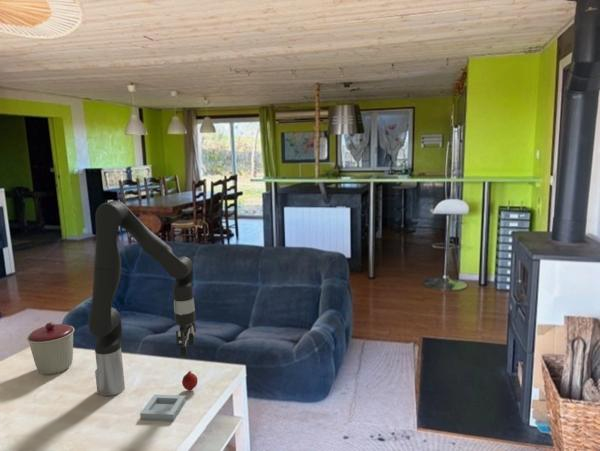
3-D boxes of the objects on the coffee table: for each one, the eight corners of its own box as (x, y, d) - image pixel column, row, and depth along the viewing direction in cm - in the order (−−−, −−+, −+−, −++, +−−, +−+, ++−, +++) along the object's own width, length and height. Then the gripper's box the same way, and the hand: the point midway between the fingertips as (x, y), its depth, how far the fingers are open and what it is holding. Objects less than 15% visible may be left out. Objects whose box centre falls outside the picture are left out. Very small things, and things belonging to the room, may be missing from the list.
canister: (33, 364, 201) (27, 319, 197) (78, 355, 208) (73, 312, 204) (29, 383, 185) (22, 334, 181) (78, 373, 192) (72, 326, 188)
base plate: (140, 419, 159) (140, 413, 158) (154, 400, 170) (154, 394, 170) (173, 421, 157) (173, 414, 157) (185, 401, 169) (185, 395, 169)
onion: (194, 394, 174) (192, 375, 172) (180, 393, 175) (178, 374, 173) (200, 387, 179) (199, 368, 178) (186, 385, 180) (185, 367, 179)
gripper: (181, 303, 178) (184, 341, 181) (167, 316, 164) (171, 358, 167) (200, 303, 178) (203, 342, 180) (187, 317, 164) (190, 358, 167)
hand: (187, 349), depth 174 cm, fingers open, 8 cm apart
